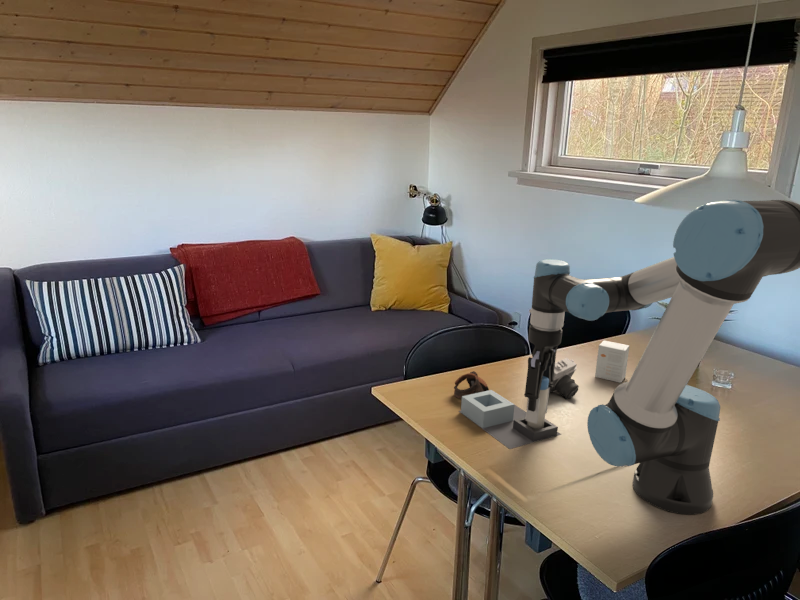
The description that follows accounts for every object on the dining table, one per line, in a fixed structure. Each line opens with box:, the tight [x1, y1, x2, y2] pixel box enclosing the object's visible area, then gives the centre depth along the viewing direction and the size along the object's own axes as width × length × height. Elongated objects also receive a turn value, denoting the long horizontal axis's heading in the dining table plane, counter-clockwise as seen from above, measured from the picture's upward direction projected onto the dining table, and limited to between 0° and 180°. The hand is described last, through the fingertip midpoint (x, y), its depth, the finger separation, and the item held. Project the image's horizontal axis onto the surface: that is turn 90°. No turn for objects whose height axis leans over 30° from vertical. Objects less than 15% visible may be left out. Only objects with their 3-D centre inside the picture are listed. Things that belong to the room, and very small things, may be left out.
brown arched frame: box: [453, 371, 490, 400], centre depth 163 cm, size 12×10×8 cm
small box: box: [594, 339, 630, 384], centre depth 180 cm, size 8×6×10 cm
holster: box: [513, 417, 559, 443], centre depth 144 cm, size 8×8×2 cm
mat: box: [458, 404, 562, 450], centre depth 149 cm, size 21×16×1 cm
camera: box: [548, 357, 580, 400], centre depth 166 cm, size 9×16×10 cm, turn 132°
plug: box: [527, 376, 549, 431], centre depth 143 cm, size 4×4×14 cm
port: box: [460, 389, 516, 429], centre depth 151 cm, size 10×10×4 cm
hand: (536, 416), depth 144 cm, fingers open, 6 cm apart
